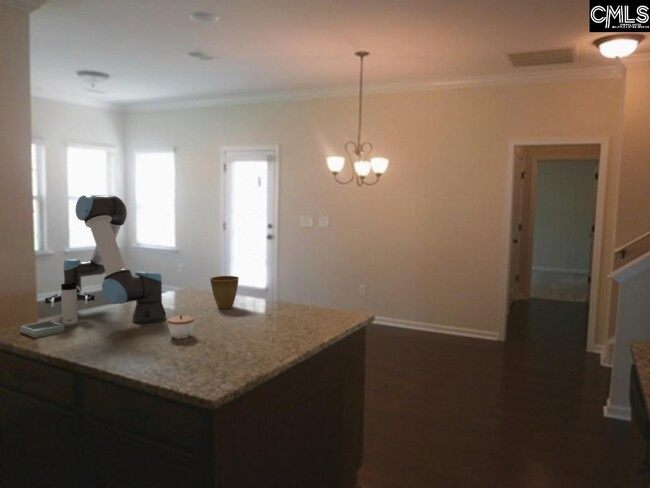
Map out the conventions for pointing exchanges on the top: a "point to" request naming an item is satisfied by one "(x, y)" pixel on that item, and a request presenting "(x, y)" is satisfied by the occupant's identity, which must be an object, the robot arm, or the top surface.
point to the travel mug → (69, 304)
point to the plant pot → (224, 290)
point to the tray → (42, 328)
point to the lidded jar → (180, 326)
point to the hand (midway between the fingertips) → (69, 302)
